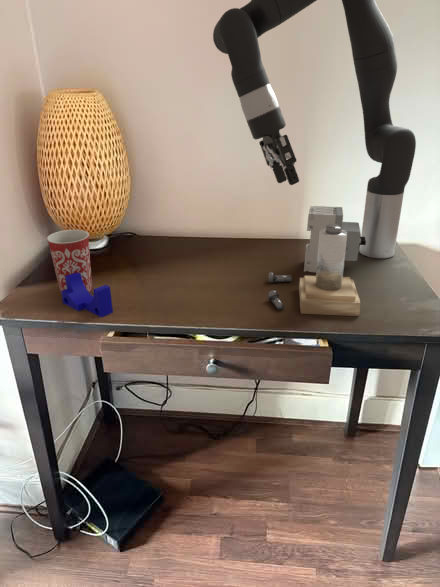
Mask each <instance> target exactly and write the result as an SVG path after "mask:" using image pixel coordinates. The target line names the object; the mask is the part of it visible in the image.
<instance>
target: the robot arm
mask: <svg viewBox="0 0 440 587" xmlns="http://www.w3.org/2000/svg"><path fill="white" fill-rule="evenodd" d="M317 1H318V0H250V1H249V2H248V3H246V4H245V5H244V6H242V7H240V8H237V7H233V8H231V9H228V10H226V11H225V12H224V13H223V14H222V15H221V17H220V18H219V20H218V21H217V22H216V24H215V26H214V27H213V32H212V33H213V34H212V39H213V43H214V46H215V48H216V49H217V50H218V51H219V52H221V53H222V54H225V55H228V58H229V61H230V65H231V71H230V75H231V80H232V83H233V86H234V88H235V91H236V93H237V96H238V98H239V102H240V106H241V110H242V112H243V114H244V115H243V116H244V118H245V120H246V123H247V125H248V128H249V131H250V134H251V136H252V139H253V140H256V141H257V140H260V139H262V140H260V141H259V145H260V148H261V152H262V153H263V157H264V159H265V163H266V165H267V166H268V167H270V169H272V172H273V174H274V177H275V179H276V181H277V184H282V183H284V182H286V181H287V183H288V184H289V185H290V186H293V185H296V184H297V183H299V182H300V178H299V176H298V173H297V170H296V167H295V165H296V164H295V163H297V158H296V156H295V155H296V154H295V152H294V150H293V146H292V145H291V142H290V140H289V137H288V135H287V134H284V135H282V134H281V133H280V131H281V130H282V129H285V127H286V120H285V119H284V115H283V112H282V109H281V107H280V104H279V102H278V99H277V96H276V93H275V92H274V90H273V87H272V85H271V83H270V79H269V78H268V75H267V72H266V69H265V67H264V64H263V61H262V54H261V49H260V45H259V40H258V38H260V37H261V36H262V35H264V34H265V33H268V31H270V30H271V31H272V30H273V29H275V28H276V27H279V26H281V25H282V24H283V23H285V22H286V21H288V20H289V19H291V18H292V17H294V16H295V15H297V14H299V13H300V12H301V11H303V10H304V9H306V8H308V7H309V6H310V5H312V4H313V3H315V2H317ZM341 3H342V5H343V6H342V7H343V10H344V16H345V21H346V26H347V31H348V32H347V33H348V37H349V42H350V46H351V47H350V48H351V53H352V54H351V55H352V60H353V65H354V71H355V76H356V80H357V84H358V86H357V87H358V92H359V96H360V103H361V109H362V116H363V128H364V130H363V131H364V141H365V150H366V153H367V155H368V156H369V158H370V159H371V160H372V161H374V162H377V163H378V164H379V163H380V164H381V166H380V170H379V173H378V175H377V176H374V177H371V178H369V179H368V182H367V185H366V186H367V187H366V195H365V204H364V212H363V220H362V227H361V237H365V240H366V245H360V247H359V249H358V253H360V254H361V255H362V256H364V257H365V256H366V257H368V258H372V259H388V258H392V257H393V256H394V255H395V252H396V250H395V249H396V243H397V237H398V232H399V225H400V219H401V212H402V208H403V200H404V195H405V188H406V186H407V184H408V182H409V180H410V177H411V174H412V169H413V168H412V167H413V163H414V159H415V154H416V147H417V141H416V136H415V134H414V132H413V131H412V130H411V129H409V128H407V127H402V126H396V125H394V124H393V121H392V116H391V115H392V114H391V110H390V109H391V108H390V97H391V93H392V90H393V87H394V83H395V80H396V78H397V72H398V60H397V50H396V45H395V39H394V35H393V32H392V30H391V27H390V26H389V24H388V22H387V20H386V19H385V17H384V15H383V13H382V12H381V10H380V8H379V6H378V4H377V1H376V0H341Z"/></svg>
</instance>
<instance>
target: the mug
mask: <svg viewBox="0 0 440 587" xmlns="http://www.w3.org/2000/svg"><path fill="white" fill-rule="evenodd" d="M89 239H90V233H89V232H88V231H86V230H81V229H65V230H59V231H56V232H53V233H51V234H48V236H47V237H46V240H47V242H48V246H49V250H50V255H51V259H52V262H53V267H54V272H55V275H56V280H57V284H58V287H59V288H58V289H59V292H60V294H61V295H62V293H61V291H62V290H65V289H67V285H66V279H65V276H67V275H70V274H73V273H80V274H81V278H82V281H83V283H84V286H85V287H86V289H87V291H88V292H89V293H90V292H92V290H93V283H92V268H91V266H92V265H91V256H90V255H91V252H90V240H89Z"/></svg>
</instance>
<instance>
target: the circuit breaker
mask: <svg viewBox="0 0 440 587" xmlns="http://www.w3.org/2000/svg"><path fill="white" fill-rule="evenodd" d="M343 211H344V210H343V206H342V207H341V206H325V205H319V206H318V205H310V206H309V211H308V217H307V225H306V226H307V228H306V231H307V232H310V238H309V243H307V244H306V245H305V252H304V254H305V255H304V267H303V272H304V273H305V272H309V273H316V270H317V257H318V245H319V232H320V230H322V229H325V228H326V225H329V224H336V225H340V226H342V230H345V231H346V232H347V241H346V251H345V260H344V261H346V262H347V261H348V262H349V261H351V262H358V255H359V250H360V245H366V240H365V237H361V234H362V232H361V227H360V223H359V222H354V221H343V220H344V212H343Z"/></svg>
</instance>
